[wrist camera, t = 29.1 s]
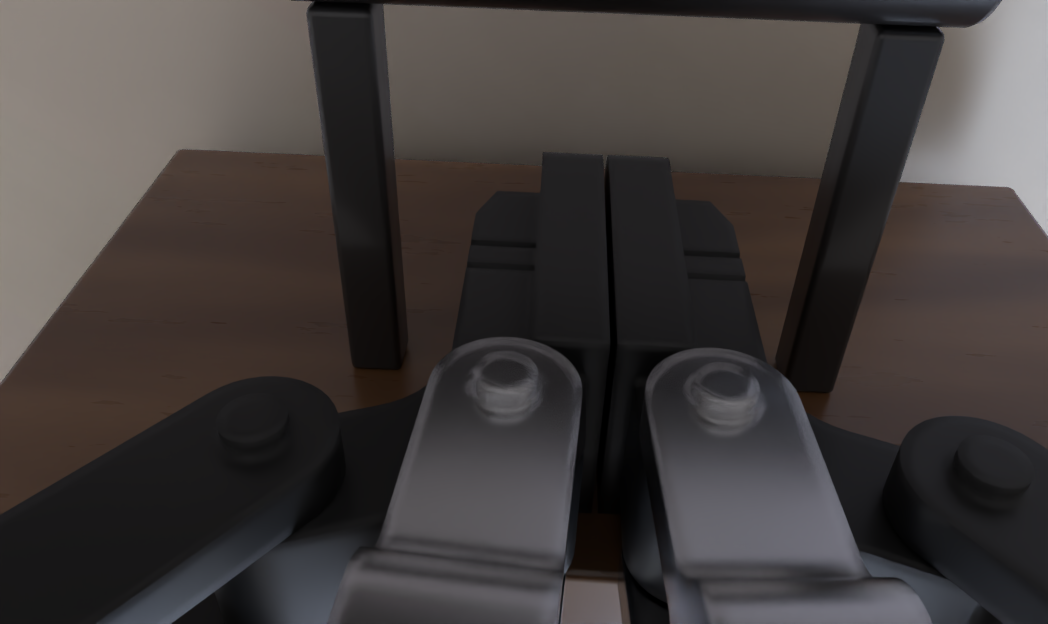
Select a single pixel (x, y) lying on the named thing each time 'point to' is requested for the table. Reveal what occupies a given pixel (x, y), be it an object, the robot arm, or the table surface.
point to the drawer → (443, 246)
